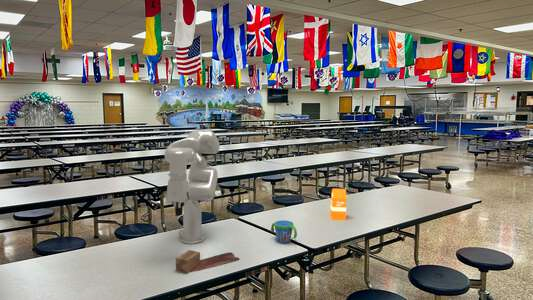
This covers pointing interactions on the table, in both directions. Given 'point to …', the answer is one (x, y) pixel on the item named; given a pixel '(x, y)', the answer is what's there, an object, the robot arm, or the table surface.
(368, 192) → the table surface
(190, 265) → the walnut block
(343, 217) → the orange juice
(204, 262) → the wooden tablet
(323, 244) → the table surface
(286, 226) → the snack cup
